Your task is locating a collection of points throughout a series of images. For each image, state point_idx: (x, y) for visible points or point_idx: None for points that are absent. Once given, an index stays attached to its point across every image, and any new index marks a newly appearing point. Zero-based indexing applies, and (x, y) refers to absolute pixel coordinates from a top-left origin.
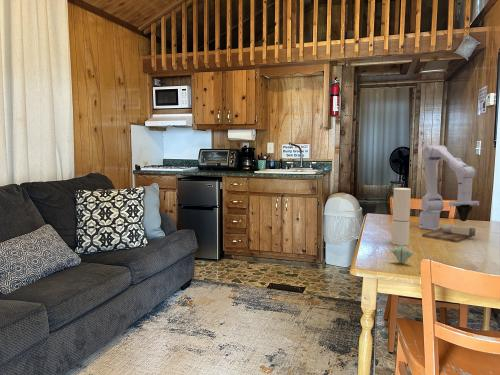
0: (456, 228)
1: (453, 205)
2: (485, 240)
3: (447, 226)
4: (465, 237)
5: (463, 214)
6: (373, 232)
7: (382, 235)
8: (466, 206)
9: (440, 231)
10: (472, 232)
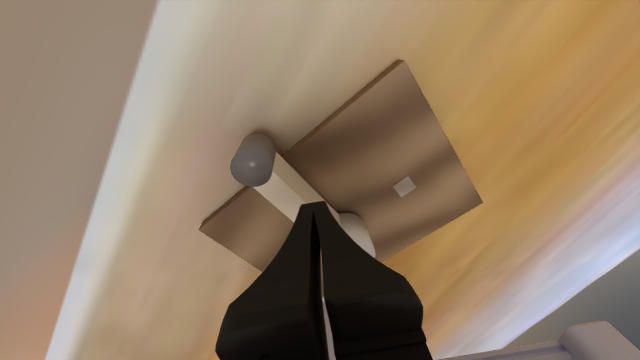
0: None
1: (593, 342)
2: (192, 106)
3: (364, 238)
4: (297, 146)
5: (347, 235)
6: (596, 256)
7: (614, 216)
8: (317, 349)
9: None
10: (261, 142)
